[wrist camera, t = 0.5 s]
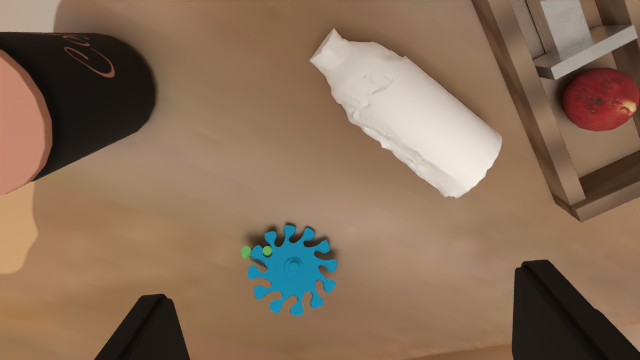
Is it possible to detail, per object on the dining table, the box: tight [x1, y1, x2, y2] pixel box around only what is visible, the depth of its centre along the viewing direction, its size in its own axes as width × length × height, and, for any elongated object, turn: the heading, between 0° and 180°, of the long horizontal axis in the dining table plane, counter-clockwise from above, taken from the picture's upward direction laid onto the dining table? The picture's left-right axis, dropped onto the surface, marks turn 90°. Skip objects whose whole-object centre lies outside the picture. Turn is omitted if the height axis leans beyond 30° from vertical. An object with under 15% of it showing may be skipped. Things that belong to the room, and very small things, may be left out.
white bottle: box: [309, 29, 502, 198], centre depth 39 cm, size 8×19×8 cm, turn 52°
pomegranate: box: [563, 68, 640, 131], centre depth 38 cm, size 6×6×8 cm
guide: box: [472, 0, 640, 222], centre depth 38 cm, size 28×12×5 cm, turn 30°
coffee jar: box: [0, 32, 154, 195], centre depth 34 cm, size 11×11×18 cm
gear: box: [241, 225, 337, 316], centre depth 47 cm, size 11×6×10 cm
